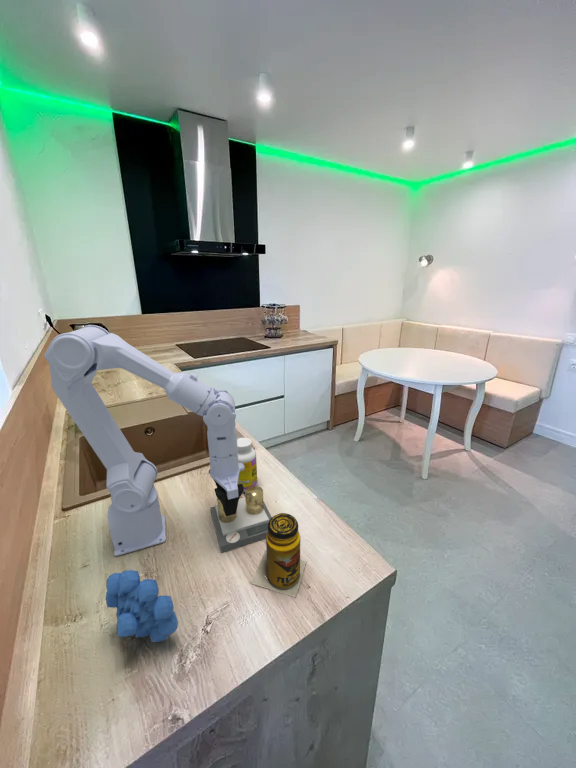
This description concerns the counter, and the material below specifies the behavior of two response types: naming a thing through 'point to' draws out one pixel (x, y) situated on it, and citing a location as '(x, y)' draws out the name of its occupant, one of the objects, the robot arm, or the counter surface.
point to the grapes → (140, 606)
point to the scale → (241, 527)
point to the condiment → (281, 557)
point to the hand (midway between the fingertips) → (227, 505)
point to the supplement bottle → (247, 463)
